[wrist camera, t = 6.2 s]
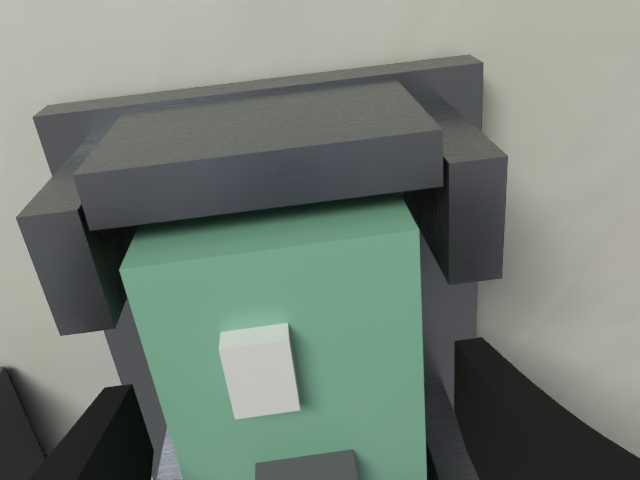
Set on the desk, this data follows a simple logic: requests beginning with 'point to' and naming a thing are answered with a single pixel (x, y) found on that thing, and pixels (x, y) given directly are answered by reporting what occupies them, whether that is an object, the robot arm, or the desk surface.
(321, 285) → the board
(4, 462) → the dark grey rectangular block
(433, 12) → the desk surface
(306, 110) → the chassis
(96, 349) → the desk surface
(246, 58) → the desk surface
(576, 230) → the desk surface
